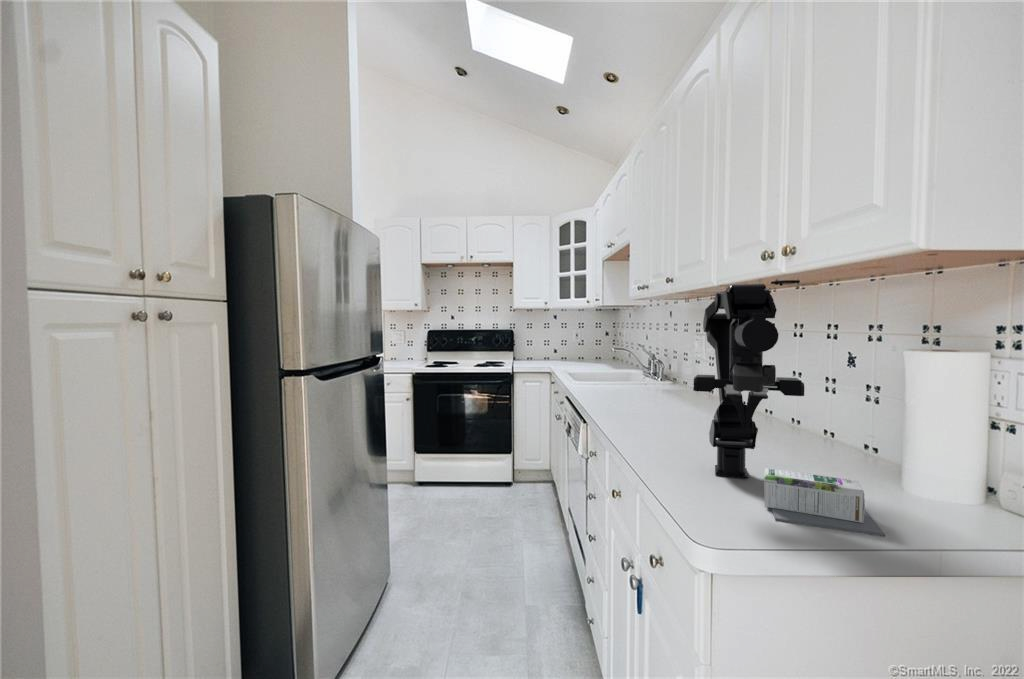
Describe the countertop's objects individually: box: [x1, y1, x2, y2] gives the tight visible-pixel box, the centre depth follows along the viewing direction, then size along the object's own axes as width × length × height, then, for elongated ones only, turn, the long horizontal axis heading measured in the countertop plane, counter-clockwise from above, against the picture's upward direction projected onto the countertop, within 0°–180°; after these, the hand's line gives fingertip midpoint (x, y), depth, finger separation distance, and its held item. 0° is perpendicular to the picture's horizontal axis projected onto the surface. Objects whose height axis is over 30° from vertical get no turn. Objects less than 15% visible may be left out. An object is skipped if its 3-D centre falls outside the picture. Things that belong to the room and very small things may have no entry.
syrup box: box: [763, 467, 866, 523], centre depth 80 cm, size 6×6×14 cm
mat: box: [771, 508, 886, 537], centre depth 81 cm, size 16×15×1 cm
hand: (745, 428), depth 88 cm, fingers closed
